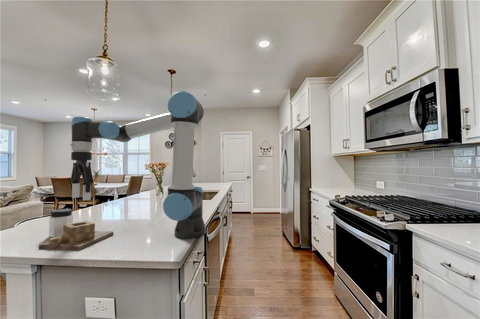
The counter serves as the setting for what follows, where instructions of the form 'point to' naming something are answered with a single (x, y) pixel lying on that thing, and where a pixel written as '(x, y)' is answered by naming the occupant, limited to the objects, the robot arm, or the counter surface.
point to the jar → (59, 221)
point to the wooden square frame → (76, 232)
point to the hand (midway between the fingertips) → (81, 198)
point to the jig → (76, 242)
